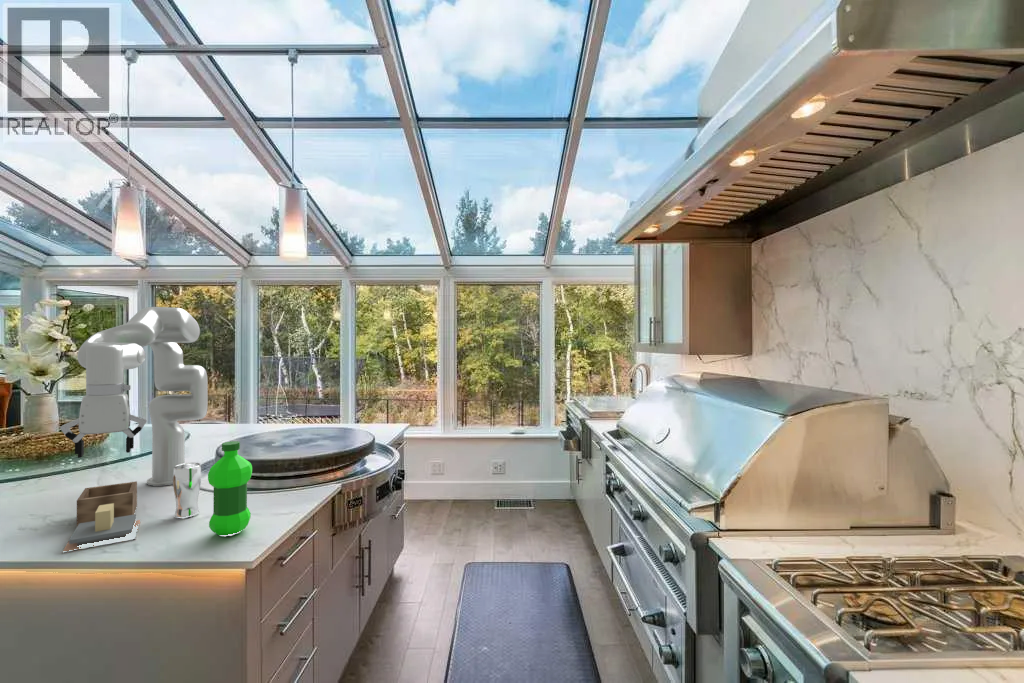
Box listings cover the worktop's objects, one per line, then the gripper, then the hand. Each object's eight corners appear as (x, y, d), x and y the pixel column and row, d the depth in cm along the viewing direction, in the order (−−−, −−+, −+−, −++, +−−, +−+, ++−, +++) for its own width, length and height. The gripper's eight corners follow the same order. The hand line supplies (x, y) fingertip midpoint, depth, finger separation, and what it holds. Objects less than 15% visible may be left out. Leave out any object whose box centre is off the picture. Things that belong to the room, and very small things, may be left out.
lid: (135, 521, 131) (136, 496, 131) (130, 537, 122) (131, 510, 121) (79, 531, 125) (79, 505, 125) (68, 549, 115) (68, 520, 115)
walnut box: (136, 506, 144) (136, 481, 144) (132, 519, 134) (132, 492, 134) (85, 514, 137) (85, 488, 137) (76, 529, 127) (76, 500, 127)
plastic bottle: (260, 527, 130) (261, 440, 130) (229, 543, 120) (230, 448, 120) (230, 523, 133) (231, 437, 132) (198, 539, 122) (198, 446, 122)
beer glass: (170, 521, 133) (170, 470, 133) (175, 512, 140) (175, 463, 139) (199, 517, 137) (199, 467, 136) (202, 509, 143) (202, 461, 142)
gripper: (147, 387, 131) (147, 446, 131) (63, 390, 121) (64, 455, 121) (145, 390, 125) (145, 452, 125) (56, 394, 115) (57, 462, 115)
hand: (105, 453), depth 123 cm, fingers open, 9 cm apart
